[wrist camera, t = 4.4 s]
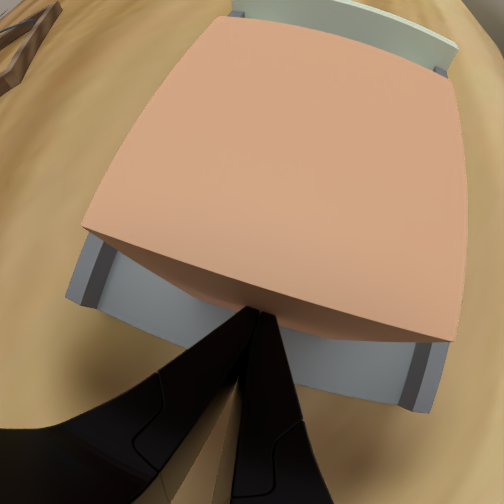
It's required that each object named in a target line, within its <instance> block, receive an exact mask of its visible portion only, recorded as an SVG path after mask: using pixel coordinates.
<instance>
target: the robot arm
mask: <svg viewBox="0 0 504 504" xmlns="http://www.w3.org/2000/svg"><path fill="white" fill-rule="evenodd" d="M259 314H260V315H259ZM238 377H239V378H238ZM237 380H238V382H237ZM236 383H237V385H236ZM235 385H236V389H235V394H234V399H233V404H232V408H231V413H230V418H229V423H228V428H227V433H226V438H225V443H224V447H223V452H222V457H221V462H220V466H219V471H218V476H217V481H216V485H215V490H214V495H213V499H212V504H334V502H333V500H332V498H331V495H330V493H329V491H328V488H327V486H326V484H325V481H324V479H323V477H322V474H321V472H320V469H319V467H318V464H317V461H316V459H315V456H314V454H313V450H312V447H311V444H310V440H309V437H308V434H307V430H306V426H305V422H304V421H302V420H303V415H302V411H301V408H300V404H299V400H298V396H297V393H296V389H295V385H294V381H293V378H292V374H291V370H290V366H289V363H288V359H287V355H286V351H285V348H284V344H283V340H282V336H281V333H280V329H279V325H278V322H277V318H276V316H275V315H274V314H270V313H267V312H264V311H262V312H260V311H259V310H257V309H254V308H251V307H248V306H245V307H244V308H242V309H241V310H240V311H238V312H237V313H236V314H234V315H233V316H232V317H230V318H229V319H228V320H226V321H225V322H224V323H222V324H221V325H220V326H218V327H217V328H216V329H214V330H213V331H212V332H210V333H209V334H208V335H206V336H205V337H204V338H202V339H201V340H199V341H198V342H197V343H195V344H194V345H193V346H191V347H190V348H189V349H187V350H186V351H184V352H183V353H182V354H180V355H179V356H177V357H176V358H175V359H173V360H172V361H171V362H169V363H168V364H166V365H165V366H163V367H162V368H161V369H159V370H158V371H157V373H156V372H155V373H153V374H152V375H150V376H149V377H148V378H146V379H145V380H143V381H142V382H140V383H139V384H137V385H136V386H134V387H132V388H131V389H129V390H128V391H126V392H124V393H122V394H120V395H119V396H117V397H115V398H113V399H111V400H109V401H107V402H105V403H103V404H101V405H99V406H97V407H95V408H93V409H91V410H89V411H87V412H84V413H82V414H80V415H78V416H76V417H74V418H71V419H69V420H67V421H65V422H62V423H60V424H57V425H54V426H50V427H45V428H38V429H3V428H0V504H170V503H171V501H172V499H173V498H174V496H175V494H176V493H177V491H178V489H179V487H180V486H181V484H182V482H183V481H184V479H185V477H186V475H187V474H188V472H189V470H190V468H191V467H192V465H193V463H194V461H195V460H196V458H197V456H198V454H199V452H200V451H201V449H202V447H203V445H204V443H205V442H206V440H207V438H208V436H209V434H210V433H211V431H212V429H213V427H214V425H215V423H216V421H217V420H218V418H219V416H220V414H221V412H222V410H223V408H224V406H225V405H226V403H227V401H228V399H229V397H230V395H231V393H232V391H233V389H234V387H235Z"/></svg>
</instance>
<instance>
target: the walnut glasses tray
mask: <svg viewBox="0 0 504 504" xmlns="http://www.w3.org/2000/svg"><path fill="white" fill-rule="evenodd" d="M61 11H62V8H61V6H60V4H59V2H58V0H57V1H55V2H54V3H52V4H50V5H48V6H46V7H45V8H43V9H41V10H39V11H38V12H36V13H34V14H33V15H31V16H29V17H28V18H26V19H25V20H23V21H22V22H25V21H28V20H31V19H33V20H35V22H36V24H34V23H33V22H32V21H30V22H27V23H24V24H22V25H19V26H16V27H14V28H11V29H10V30H8V31H7V32H5V33H4V34H3V35H1V36H0V50H1V49H3V48H4V47H5V46H7V45H8V44H10V43H11V42H13V41H14V40H16V39H17V38H19V37H20V36H22V35H23V34H25V33H26V32H28V31H30V30H31V31H30V32H29V33H28V35H27V36H26V38H25V39H24V41H23V42H22V44H21V46H20V47H19V49H18V50H17V52H16V53H15V55H14V57H13V58H12V60H11V62H10V63H9V65H8V67H7V69H6V70H4V71H3V72H1V73H0V96H1V95H3V94H4V93H6V92H7V91H9V90H10V89H12V88H13V87H15V86H16V85H18V84H19V83H21V80H22V78H23V76H24V74H25V72H26V70H27V68H28V66H29V64H30V62H31V61H32V59H33V57H34V55H35V53H36V51H37V50H38V48H39V46H40V44H41V43H42V41H43V39H44V38H45V36H46V34H47V33H48V31H49V29H50V28H51V26H52V25H53V23H54V22H55V20H56V19H57V17H58V16H59V14H60V13H61ZM22 22H20V23H22ZM18 24H19V23H18Z"/></svg>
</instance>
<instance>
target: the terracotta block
mask: <svg viewBox="0 0 504 504" xmlns="http://www.w3.org/2000/svg"><path fill="white" fill-rule="evenodd" d="M80 226H82V227H83V228H85V229H86V230H88V231H89V232H91V233H92V234H94V235H95V236H97V237H98V238H100V239H101V240H103V241H104V242H106V243H107V244H109V245H110V246H112V247H113V248H115V249H116V250H118V251H119V252H121V253H122V254H124V255H125V256H127V257H129V258H130V259H132V260H133V261H135V262H136V263H138V264H140V265H141V266H143V267H144V268H146V269H148V270H149V271H151V272H152V273H154V274H156V275H157V276H159V277H161V278H162V279H164V280H166V281H167V282H169V283H171V284H172V285H174V286H176V287H177V288H179V289H181V290H182V291H184V292H186V293H187V294H189V295H191V296H193V297H194V298H197V299H200V300H203V301H206V302H209V303H211V304H214V305H217V306H220V307H223V308H226V309H229V310H232V311H235V312H238V311H240V310H241V309H242V308H244V307H245V306H248V307H251V308H254V309H257V310H259V311H260V312H262V311H264V312H267V313H270V314H274V315H275V316H276V318H277V322H278V325H279V326H283V327H286V328H289V329H293V330H296V331H300V332H303V333H307V334H310V335H314V336H317V337H321V338H324V339H333V340H350V341H371V342H415V343H428V342H455V338H456V333H457V328H458V323H459V317H460V311H461V304H462V297H463V289H464V280H465V270H466V257H467V236H468V198H467V178H466V165H465V154H464V146H463V138H462V131H461V124H460V118H459V113H458V108H457V102H456V98H455V93H454V89H453V84H452V81H451V80H449V79H447V78H445V77H443V76H441V75H439V74H437V73H435V72H433V71H431V70H429V69H427V68H425V67H423V66H421V65H418V64H416V63H414V62H412V61H409V60H407V59H405V58H402V57H400V56H397V55H395V54H392V53H390V52H387V51H384V50H382V49H379V48H376V47H373V46H370V45H367V44H364V43H361V42H358V41H355V40H352V39H348V38H345V37H341V36H338V35H334V34H330V33H326V32H322V31H318V30H314V29H310V28H305V27H300V26H295V25H290V24H284V23H278V22H272V21H265V20H258V19H249V18H239V17H227V16H218V17H217V18H216V19H215V20H214V21H213V22H212V23H211V25H210V26H209V27H208V28H207V29H206V30H205V31H204V32H203V33H202V34H201V36H200V37H199V38H198V39H197V40H196V41H195V42H194V44H193V45H192V46H191V47H190V48H189V50H188V51H187V52H186V53H185V54H184V56H183V57H182V58H181V59H180V61H179V62H178V63H177V64H176V66H175V67H174V68H173V70H172V71H171V72H170V73H169V75H168V76H167V77H166V79H165V80H164V81H163V83H162V84H161V86H160V87H159V88H158V90H157V91H156V92H155V94H154V95H153V97H152V98H151V100H150V101H149V102H148V104H147V105H146V107H145V108H144V110H143V111H142V113H141V114H140V116H139V117H138V119H137V121H136V122H135V124H134V125H133V127H132V128H131V130H130V132H129V133H128V135H127V137H126V138H125V140H124V142H123V143H122V145H121V147H120V148H119V150H118V152H117V154H116V155H115V157H114V159H113V161H112V162H111V164H110V166H109V168H108V170H107V172H106V173H105V175H104V177H103V179H102V181H101V183H100V185H99V187H98V189H97V191H96V193H95V195H94V197H93V199H92V201H91V203H90V205H89V207H88V210H87V212H86V214H85V216H84V218H83V221H82V223H81V225H80ZM259 315H260V314H259Z"/></svg>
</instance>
